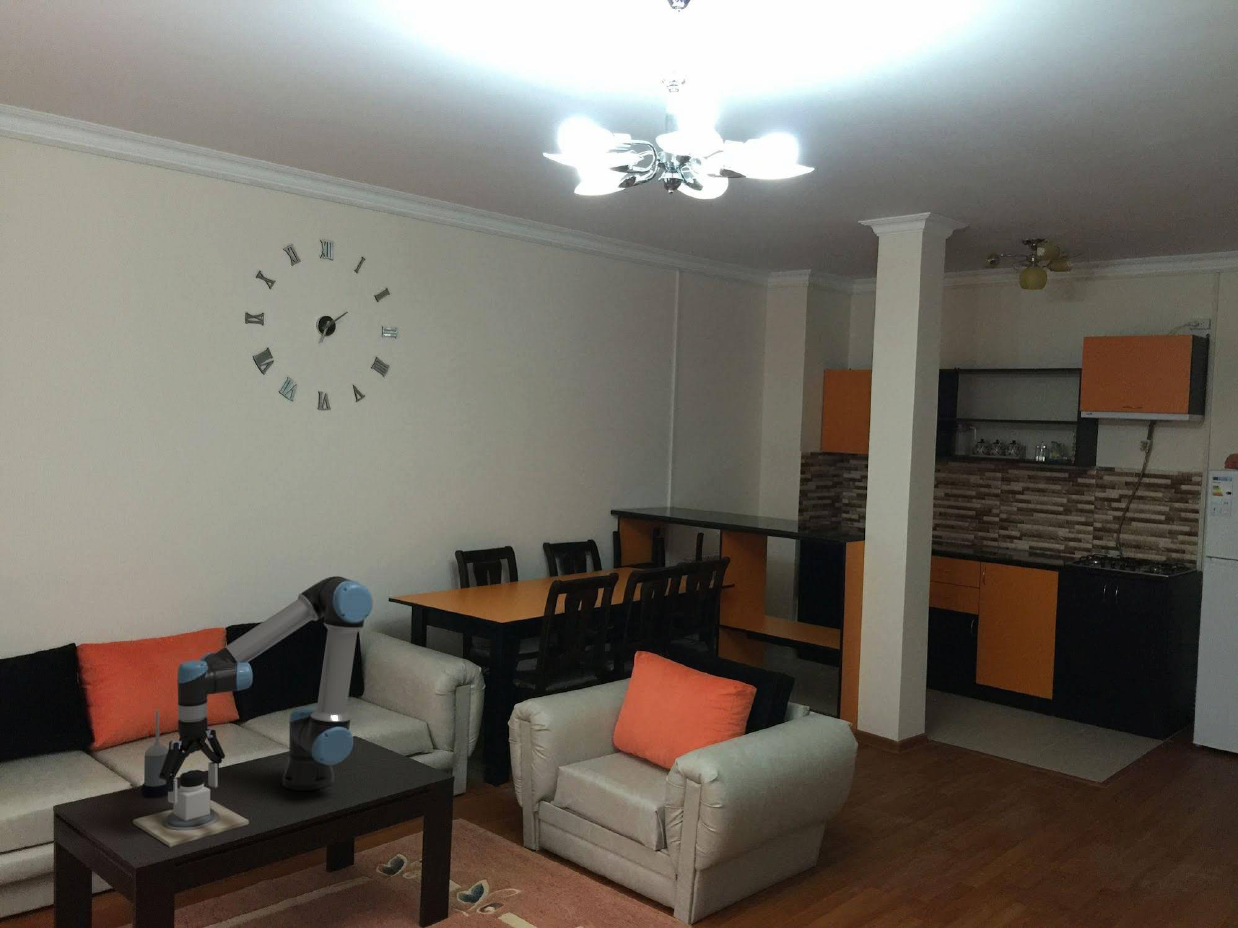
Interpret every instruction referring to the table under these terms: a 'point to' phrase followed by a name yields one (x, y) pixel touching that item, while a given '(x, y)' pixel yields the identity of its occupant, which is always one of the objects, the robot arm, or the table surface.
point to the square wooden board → (189, 825)
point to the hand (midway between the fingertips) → (193, 794)
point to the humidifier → (154, 768)
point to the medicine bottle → (192, 796)
